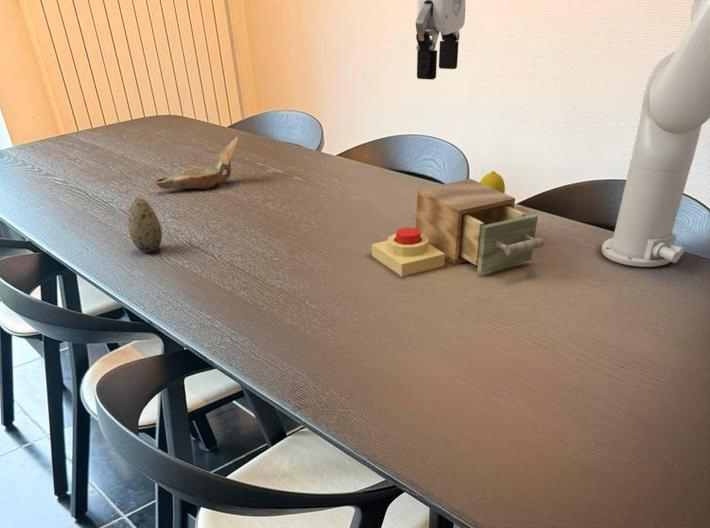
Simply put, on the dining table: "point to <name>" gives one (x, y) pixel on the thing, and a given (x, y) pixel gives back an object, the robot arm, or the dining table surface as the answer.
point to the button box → (408, 256)
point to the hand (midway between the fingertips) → (437, 73)
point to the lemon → (494, 181)
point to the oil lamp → (201, 173)
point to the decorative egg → (144, 226)
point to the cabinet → (453, 212)
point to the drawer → (498, 237)
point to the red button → (408, 236)
